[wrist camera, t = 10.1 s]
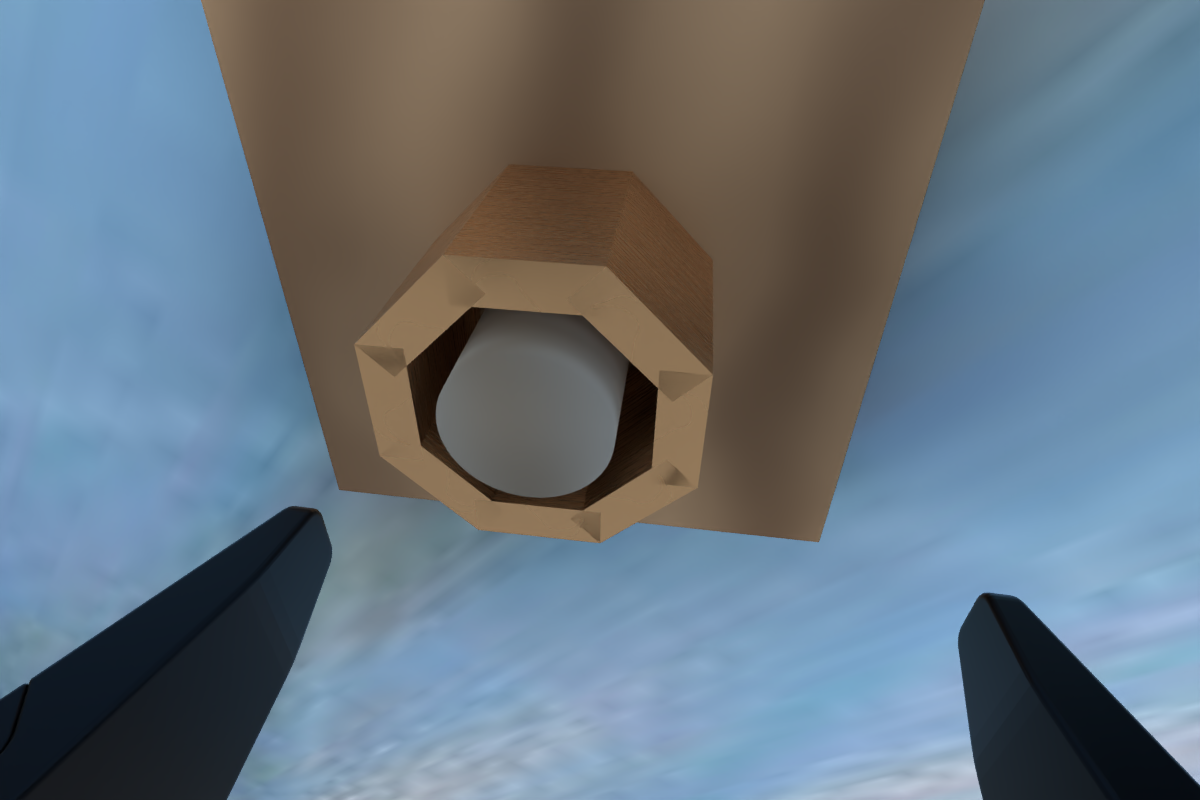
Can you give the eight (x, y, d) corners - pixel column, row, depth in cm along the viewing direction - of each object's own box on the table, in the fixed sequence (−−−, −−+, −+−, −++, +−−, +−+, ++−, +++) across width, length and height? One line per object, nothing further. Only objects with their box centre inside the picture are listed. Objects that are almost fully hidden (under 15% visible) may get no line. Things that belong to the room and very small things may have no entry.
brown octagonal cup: (723, 176, 16) (727, 274, 12) (693, 419, 20) (688, 552, 16) (424, 159, 16) (331, 246, 12) (456, 397, 21) (394, 520, 17)
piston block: (969, -63, 14) (1157, -27, 8) (811, 498, 24) (845, 704, 18) (232, -86, 16) (-65, -68, 10) (362, 451, 25) (254, 627, 19)
